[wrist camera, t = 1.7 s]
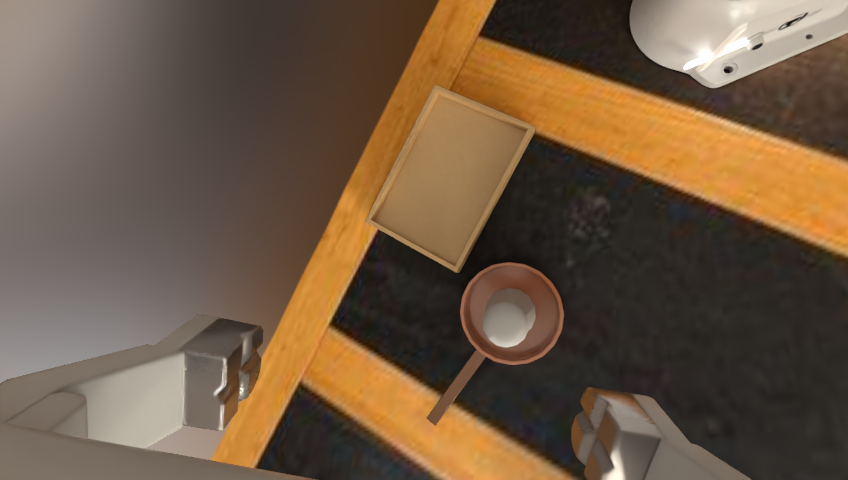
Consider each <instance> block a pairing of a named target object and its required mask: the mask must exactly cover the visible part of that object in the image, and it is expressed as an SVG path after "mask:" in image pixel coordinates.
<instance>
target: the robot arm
mask: <svg viewBox="0 0 848 480" xmlns="http://www.w3.org/2000/svg"><path fill="white" fill-rule="evenodd" d="M629 19H630V29H631V33H632V36H633V38H634V40H635V42H636V44H637V46H638V47H639V48H640V50H641V51H642V52H643V53H644V54H645V55H646V56H647V57H648V58H650V59H651V60H653V61H654V62H656V63H658V64H660V65H662V66H664V67H667V68H670V69H673V70H677V71H681V72H684V73H687V74H689V75H691V76H692V77H693V78H694V79H696V80H697V81H698V82H700V83H701V84H702V85H704V86H706V87H709V88H718V87H721V86H723V85H726V84H728V83H730V82H733V81H735V80H737V79H740V78H742V77H744V76H747V75H749V74H752V73H754V72H756V71H759V70H761V69H763V68H766V67H768V66H771V65H773V64H775V63H778V62H780V61H782V60H785V59H787V58H789V57H792V56H794V55H797V54H799V53H801V52H804V51H806V50H808V49H811V48H813V47H816V46H818V45H820V44H823V43H825V42H827V41H830V40H832V39H834V38H837V37H839V36H841V35H844V34H846V33H848V0H633V1H632V5H631V9H630V18H629ZM724 69H728V70H729V72H730V73H725V72H724ZM262 343H263V329H262V327H261V326H257V325H253V324H248V323H243V322H238V321H233V320H228V319H223V318H220V317H214V316H208V315H196V316H195V317H194V318H193V319H191V320H189V321H188V322H187V323H185V324H184V325H182V326H181V327H180V328H178V329H177V330H175V331H174V332H173V333H171V334H170V335H168V336H167V337H166V338H164V339H163V340H161V341H160V342H159V343H157V344H156V345H148V344H147V345H143V346H139V347H135V348H131V349H127V350H123V351H119V352H115V353H111V354H107V355H103V356H99V357H96V358H91V359H88V360H83V361H79V362H75V363H71V364H67V365H64V366H60V367H55V368H52V369H47V370H44V371H40V372H36V373H32V374H28V375H24V376H20V377H16V378H12V379H8V380H6V381H4V382H2V383H1V384H0V480H316V479H310V478H305V477H299V476H294V475H288V474H282V473H277V472H271V471H266V470H260V469H255V468H249V467H244V466H238V465H233V464H227V463H222V462H216V461H210V460H205V459H199V458H194V457H188V456H183V455H177V454H172V453H166V452H160V451H155V450H150V449H145V448H146V447H148V446H150V445H152V444H154V443H155V442H157V441H159V440H161V439H162V438H164V437H166V436H168V435H170V434H171V433H173V432H175V431H177V430H179V429H180V428H182V425H184V426H190V427H197V428H203V429H210V430H216V431H223V429H224V428H225V427H226V425H227V424H228V423H229V421H230V420H231V419H232V417H233V416H234V415H235V413H236V412H237V411H238V402H239V401H241V400H243V399H246V398H247V397H248V396H249V394H250V393H251V392H252V390H253V388H254V386H255V384H256V381H257V379H258V376H259V372H260V367H261V358H260V356H259V355H258V353H257V351H256V350H257V349H258V348H259V347H260V345H261V344H262ZM580 402H581V404H582V407H583V409H584V410H583V411H582V412H580V413H579V414H578V415H576V416H575V419H574V422H573V426H572V438H571V440H572V445H573V450H574V452H575V455H576V457H577V458H578V459H579V460H580V461H581V462H582V463H583V464H584V465H585V466H586V468H585V471H584V476H585V478H586V480H751V479H750V478H748V477H747V476H745V475H744V474H742V473H740V472H739V471H737V470H736V469H734V468H733V467H731V466H730V465H728V464H726V463H725V462H723V461H722V460H720V459H719V458H717V457H715V456H714V455H712V454H711V453H709V452H708V451H706V450H705V449H703V448H701V447H700V446H698V445H695V444H691V443H690V442H689V441H688V440H687V438H686V437H685V436H684V435H683V434H682V433H681V431H680V430H679V429H678V428H677V427H676V425H675V424H674V423H673V422H672V421H671V419H670V418H669V417H668V416H667V415H666V413H665V412H664V411H663V410H662V409H661V407H660V406H659V405H658V404H657V403H656V401H655V400H654V399H652V398H650V397H649V396H644V395H637V394H630V393H624V392H617V391H611V390H605V389H598V388H591V387H587V388H586V389H585V391H584V392H583V395H582V398H581V400H580Z"/></svg>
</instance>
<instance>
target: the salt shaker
mask: <svg viewBox="0 0 848 480" xmlns="http://www.w3.org/2000/svg"><path fill="white" fill-rule="evenodd" d="M535 319H536V313H535V306H534V304H533V302H532V300H531V299H530V297H529V296H528V295H526V294H525V293H524V292H522V291H521V290H518V289H513V288H506V289H502V290H498V291H497V292H496V293H495V294H493V295H492V296H491V297H490V299H489V301H488V303H487V305H486V312H485V315H484V317H483V330H484V332H485V334H486V336H487V338H488V339H489V340H490V341H491V342H493V343H494V344H495V345H497V346H501V347H506V348H507V347H511V346H515V345H518V344H519V343H520V342H521V341H523V340H524V339H525V337H526V334H527V332H528V331H529V330H530V329H531V328H532V326H533V324H534V321H535Z"/></svg>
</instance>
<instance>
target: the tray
mask: <svg viewBox="0 0 848 480" xmlns="http://www.w3.org/2000/svg"><path fill="white" fill-rule="evenodd" d="M534 130H535V126H533V125H531V124H528V123H526V122H524V121H521V120H519V119H516V118H514V117H512V116H509V115H507V114H504V113H502V112H500V111H497V110H495V109H492V108H490V107H488V106H485V105H483V104H480V103H478V102H476V101H473V100H471V99H468V98H466V97H464V96H461V95H459V94H456V93H454V92H452V91H449V90H447V89H444V88H442V87H440V86H437V85H434V87H433V89H432V91H431V93H430V95H429V97H428V99H427V101H426V103H425V105H424V107H423V109H422V110H421V112H420V114H419V116H418V118H417V120H416V122H415V124H414V126H413V128H412V130H411V132H410V134H409V136H408V138H407V140H406V142H405V144H404V146H403V148H402V150H401V152H400V154H399V155H398V157H397V159H396V161H395V163H394V165H393V167H392V169H391V171H390V173H389V175H388V177H387V179H386V181H385V183H384V185H383V187H382V189H381V191H380V193H379V195H378V197H377V199H376V200H375V202H374V204H373V206H372V208H371V210H370V212H369V214H368V216H367V218H366V220H365V222H367V223H369V224H370V225H372V226H374V227H376V228H377V229H379V230H381V231H383V232H385V233H386V234H388V235H390V236H392V237H394V238H395V239H397V240H399V241H401V242H403V243H404V244H406V245H408V246H410V247H412V248H413V249H415V250H417V251H419V252H421V253H422V254H424V255H426V256H428V257H429V258H431V259H433V260H435V261H437V262H438V263H440V264H442V265H444V266H446V267H447V268H449V269H451V270H453V271H455V272H460V271H461V269H462V267H463V266H464V264H465V262H466V260H467V258H468V256H469V254H470V252H471V251H472V249H473V247H474V245H475V243H476V241H477V239H478V237H479V236H480V234H481V232H482V230H483V228H484V226H485V224H486V222H487V221H488V219H489V217H490V215H491V213H492V211H493V209H494V207H495V206H496V204H497V202H498V200H499V198H500V196H501V194H502V192H503V191H504V189H505V187H506V185H507V183H508V181H509V179H510V177H511V176H512V174H513V172H514V170H515V168H516V166H517V164H518V162H519V161H520V159H521V157H522V155H523V153H524V151H525V149H526V147H527V146H528V144H529V142H530V140H531V138H532V136H533V134H534Z"/></svg>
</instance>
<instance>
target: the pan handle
mask: <svg viewBox="0 0 848 480" xmlns="http://www.w3.org/2000/svg"><path fill="white" fill-rule="evenodd" d="M485 357H486V356H485V355H483V354H481V353H480V352H479V351H478V350H477V349H476V350H475V352H474V353H473V354H472V356H471V357H470V359H469V360H468V361H467V363H466V364H465V365H464V367H463V368H462V370H461V371H460V372H459V374H458V375H457V376H456V378H455V379H454V381H453V382H452V383H451V385H450V386H449V388H448V389H447V390H446V392H445V393H444V394H443V396H442V397H441V399H440V400H439V401H438V403H437V404H436V405H435V407H434V408H433V410H432V411H431V412H430V414H429V415H428V417H427V419H428V420H429V421H430V422H432V423H433V424H434V425H435V426H436V425H437V423H438V422H439V420H440V419H441V418H442V416H443V415H444V414H445V412H446V411H447V409H448V408H449V407H450V405H451V404H452V403H453V401H454V400H455V398H456V397H457V396H458V394H459V393H460V392H461V390H462V389H463V387H464V386H465V385H466V383H467V382H468V381H469V379H470V378H471V377H472V375H473V374H474V372H475V371H476V370H477V368H478V367H479V366H480V364H481V363H482V361H483V360H484V359H485Z"/></svg>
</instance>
